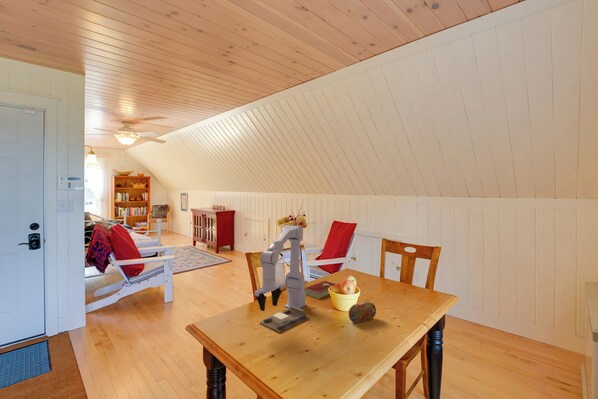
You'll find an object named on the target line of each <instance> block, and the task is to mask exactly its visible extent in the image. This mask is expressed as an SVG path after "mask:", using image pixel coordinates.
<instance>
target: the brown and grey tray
mask: <svg viewBox="0 0 598 399" xmlns="http://www.w3.org/2000/svg"><path fill="white" fill-rule="evenodd" d="M280 312H281V313H283V314H286V315H288V316H289V321H287V322H285V323H283V324H281V325H280V324H277V323H275V322H273V321H272V315H271V316H269V317H267V318H264V319H263V320H261V321H259V324H260V325H262V326H264V327H265V328H268V329H270V330H271V331H274V332H276V333H278V334H281V333H283V332H285V331H287V330H289V329H291V328H293V327H295V326H297V325H299V324H301V323H303V322H305V321H308V320H310V317H309V316H308V315H307V314H306V313H305V309H302V308H297V307H295V306H290V308H287V309H285V310H284V311H280Z"/></svg>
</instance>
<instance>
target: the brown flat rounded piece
mask: <svg viewBox="0 0 598 399" xmlns="http://www.w3.org/2000/svg"><path fill="white" fill-rule="evenodd" d="M376 312H377V308H376V305H375V304H374V303H372V302H370V301H365V302H361V303H356V304H353V305H351V306H350V308H349V310H348V318H349V320H350V321H351V322H353V323H354V324H355V325H357V324H361V323H366V322H369V321H372V320H373V319H374V317H375V316H376V314H377V313H376Z"/></svg>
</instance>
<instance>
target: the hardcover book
mask: <svg viewBox="0 0 598 399" xmlns="http://www.w3.org/2000/svg"><path fill="white" fill-rule="evenodd" d="M335 284H336V283H335V282H331V281H327V280H322V281H320V282H317V283H315V284H312V285H309V286H306V287H304V290H305V296H308V295H309V296H308V297H311V298H315V299H321V297H322V298H324V297H326V296H328V294H329V293H328V288H329V287H330V286H334V285H335ZM329 295H330V294H329ZM323 296H324V297H323Z"/></svg>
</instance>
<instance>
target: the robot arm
mask: <svg viewBox="0 0 598 399" xmlns="http://www.w3.org/2000/svg"><path fill="white" fill-rule="evenodd" d="M280 230H281V231H280V232H281V233H280V234H279V237H278V238H277V239H275V240H274V241H272V243H271V244H270V245H269V247H268V248H267V249H266V250H262V252H261V253H260V255H259V256H260V257H259V261H260V264H261V268H262V270H261V271H262V274H261V275H262V276H261V277H262V280H261V281H262V283H261V287H260V288H259V289H257V290H254V297H255V298H256V300H257V302H258V305H259V306H258V307H259V309H260V311H262V312H265V309H266V300H267V297H268V296H266V295H265V294H268V293H270V292H271V304H272V306H273V307H277V306H278V302H279V299H280V296H281V295H282V293H283V291H282V289H283V284H282V283H276V265H277V263H278V261H279V257H280V254H281V253H282V251H283V250H284V245H285V243H286V242H288V241H289V242H290V256H289V260H290V261H289V272H287V273H286V274H285V277H284V278H285V279H284V287H285V288H286V291H287V304H284V307H285V308H287V309H290V306H295V307H297V308H300V309H302V308H303V307H305V306H307V304H306V295H305V290H304V288H306V287H305V286H306V279H305V275H304V274H303V273H302V272H301V271H300V260H301V255H300V253H301V241H303V239H304V238H303V237H304V236H303V235H304V230H303V228H302V226H301V225H288V224H287V225H286V224H284V225H282V227H281V229H280Z"/></svg>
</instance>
